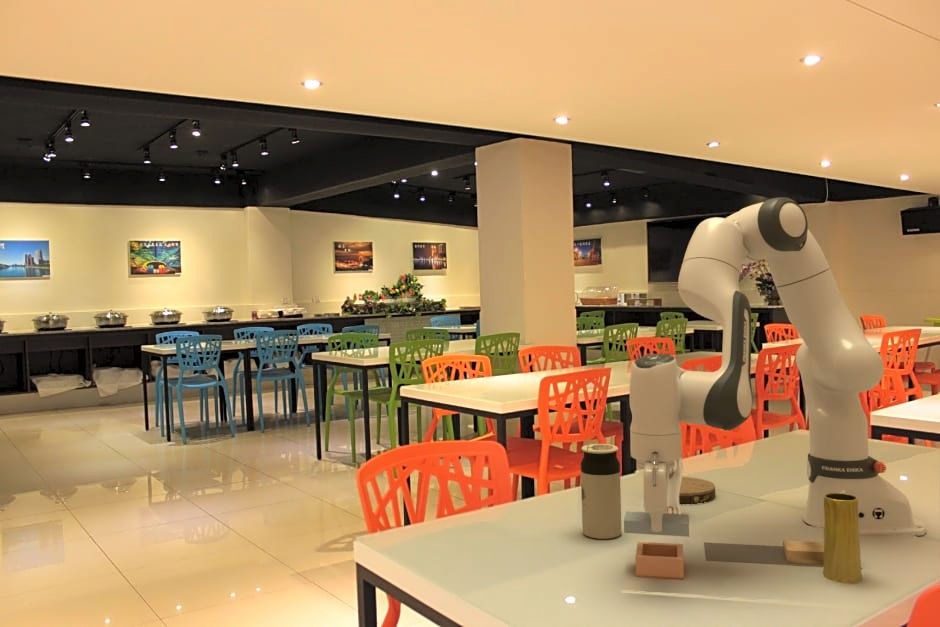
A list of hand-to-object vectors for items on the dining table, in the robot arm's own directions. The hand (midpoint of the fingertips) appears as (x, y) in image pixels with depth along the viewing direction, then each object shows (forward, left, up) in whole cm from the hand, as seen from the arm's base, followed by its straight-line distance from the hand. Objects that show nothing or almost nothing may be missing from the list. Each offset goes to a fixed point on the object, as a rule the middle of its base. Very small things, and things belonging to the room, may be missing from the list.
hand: (657, 524), depth 135 cm
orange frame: (0, 0, -9) cm, 9 cm away
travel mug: (+12, -20, -9) cm, 25 cm away
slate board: (0, 0, -1) cm, 1 cm away
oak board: (-28, -10, -8) cm, 31 cm away
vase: (-30, -2, -9) cm, 32 cm away
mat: (-21, -11, -9) cm, 25 cm away
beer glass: (-1, -35, -9) cm, 36 cm away
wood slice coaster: (-4, -52, -9) cm, 53 cm away
